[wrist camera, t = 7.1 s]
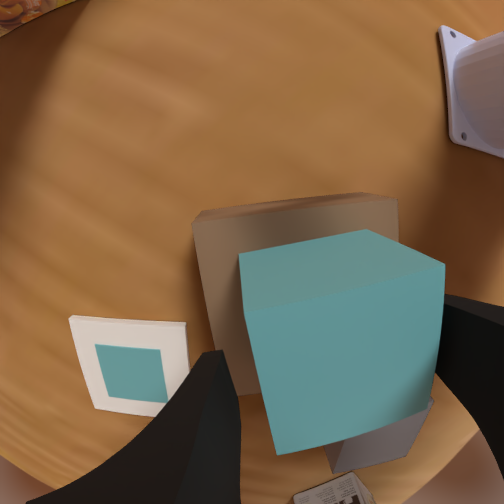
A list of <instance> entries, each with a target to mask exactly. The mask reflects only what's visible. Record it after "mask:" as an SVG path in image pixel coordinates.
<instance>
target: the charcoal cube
mask: <svg viewBox="0 0 504 504" xmlns="http://www.w3.org/2000/svg"><path fill="white" fill-rule="evenodd" d="M433 402H434V400H433V399H432V397H431V396H430V398H429V403H428V407H427V409H426V410H423V411H421V412H419V413H417V414H414V415H412V416H409V417H407V418H405V419H402V420H400V421H397V422H394V423H392V424H389V425H386V426H384V427H381V428H378V429H375V430H372V431H370V432H367V433H363V434H360V435H357V436H354V437H351V438H347V439H344V440H341V441H337V442H334V443H330V444H326V445H323V446H324V449H325V452H326V455H327V458H328V461H329V465H330V468H331V471H332V474H335V473H340V472H345V471H350V470H355V469H360V468H364V467H368V466H373V465H377V464H381V463H384V462H388V461H392V460H395V459H398V458H402V457H405V456H406V455H407V453H408V452H409V450H410V448H411V446H412V444H413V443H414V441H415V439H416V437H417V435H418V433H419V431H420V429H421V427H422V425H423V423H424V421H425V419H426V417H427V415H428V413H429V411H430V409H431V406H432V404H433Z"/></svg>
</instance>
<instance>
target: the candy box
mask: <svg viewBox="0 0 504 504" xmlns="http://www.w3.org/2000/svg"><path fill="white" fill-rule="evenodd" d="M73 1H76V0H0V37H1V36H3V35H5V34H7V33H8V32H10V31H12V30H13V29H15V28H17V27H18V26H20V25H22V24H24V23H26V22H28V21H31V20H32V19H34V18H37V17H39V16H41V15H42V14H45V13H47V12H49V11H51V10H53V9H56V8H58V7H61V6H63V5H65V4H68V3H70V2H73Z"/></svg>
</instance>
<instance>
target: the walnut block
mask: <svg viewBox="0 0 504 504" xmlns="http://www.w3.org/2000/svg"><path fill="white" fill-rule="evenodd" d="M192 229H193V235H194V241H195V247H196V253H197V259H198V264H199V270H200V275H201V281H202V286H203V291H204V297H205V302H206V307H207V312H208V317H209V322H210V326H211V331H212V336H213V341H214V345H215V350H222V349H223V352H224V355H225V358H226V362H227V365H228V368H229V371H230V375H231V378H232V381H233V384H234V387H235V390H236V393H237V396H243V395H251V394H259V393H262V391H261V387H260V382H259V378H258V374H257V369H256V365H255V360H254V356H253V352H252V347H251V343H250V338H249V334H248V329H247V325H246V320H245V316H244V309H243V298H242V287H241V275H240V264H239V254H241V253H246V252H251V251H256V250H262V249H267V248H272V247H277V246H282V245H287V244H292V243H297V242H303V241H308V240H313V239H318V238H323V237H328V236H333V235H338V234H344V233H349V232H354V231H359V230H364V229H368V230H370V231H372V232H375V233H377V234H379V235H382V236H384V237H386V238H389V239H391V240H393V241H396V242H398V243H399V224H398V199H395V198H390V197H385V196H379V195H374V194H369V193H363V192H358V193H347V194H337V195H326V196H317V197H307V198H298V199H289V200H280V201H272V202H264V203H256V204H248V205H241V206H233V207H226V208H219V209H212V210H205V211H201V213H200V214H199V215H198V216H197V217H196V219H195V220H194V221H193V222H192Z"/></svg>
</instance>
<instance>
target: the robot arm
mask: <svg viewBox="0 0 504 504" xmlns="http://www.w3.org/2000/svg"><path fill="white" fill-rule="evenodd" d="M438 32H439V37H440V43H441V49H442V55H443V62H444V69H445V78H446V88H447V100H448V116H449V136H450V139H451V140H452V142H454V143H456V144H459V145H463V146H466V147H470V148H473V149H476V150H480V151H483V152H486V153H489V154H492V155H495V156H498V157H501V158H504V31H502V32H500V33H497V34H494V35H492V36H489V37H486V38H484V39H481V40H479V41H475V40H473V39H471V38H469V37H467V36H465V35H463V34H461V33H459V32H457V31H455V30H453V29H451V28H449V27H447V26H444V25H443V26H440V27H439V28H438ZM451 35H452V36H451ZM461 134H462V135H463V139H462V137H461ZM435 373H436V374H437V375H438V376H439V377H440V379H441V380H442V381H443V382H444V383H445V385H446V386H447V387H448V388H449V389H450V390H451V391H452V393H453V394H454V395H455V396H456V397H457V399H458V400H459V401H460V402H461V403H462V404H463V406H464V407H465V408H466V409H467V410H468V412H469V413H470V415H471V416H472V417H473V419H474V420H475V422H476V423H477V425H478V427H479V428H480V430H481V432H482V434H483V435H484V437H485V439H486V441H487V443H488V445H489V446H490V449H491V451H492V453H493V455H494V457H495V459H496V461H497V464H498V466H499V469H500V471H501V474H502V476H503V479H504V307H502V306H497V305H492V304H488V303H484V302H480V301H475V300H471V299H467V298H463V297H458V296H453V295H448V294H444V304H443V315H442V325H441V334H440V342H439V349H438V356H437V362H436V368H435ZM240 455H241V420H240V410H239V402H238V397H237V393H236V390H235V387H234V384H233V381H232V378H231V375H230V371H229V368H228V365H227V362H226V358H225V355H224V352H223V349H222V350H216V351H210V352H204V353H202V355H201V356H200V358H199V359H198V360H197V362H196V363H195V365H194V366H193V368H192V369H191V371H190V372H189V374H188V375H187V377H186V378H185V379H184V381H183V382H182V384H181V385H180V386H179V388H178V389H177V391H176V392H175V393H174V395H173V396H172V397H171V399H170V400H169V401H168V402H167V403H166V405H165V406H164V407H163V408H162V410H161V411H160V412H159V413H158V414H157V416H156V417H155V418H154V419H153V420H152V421H151V422H150V423H149V424H148V425H147V426H146V427H145V428H144V429H143V430H142V431H141V432H140V433H139V434H138V435H137V436H136V437H135V438H134V439H133V440H132V441H131V442H129V443H128V444H127V445H126V446H125V447H123V448H122V449H121V450H120V451H118V452H117V453H116V454H114V455H113V456H112V457H110V458H109V459H108V460H107V461H105V462H104V463H103V464H101V465H100V466H98V467H97V468H95V469H94V470H92V471H90V472H89V473H87V474H86V475H84V476H82V477H81V478H79V479H77V480H75V481H73V482H72V483H70V484H68V485H66V486H64V487H62V488H60V489H57V490H55V491H53V492H51V493H48V494H46V495H43V496H41V497H38V498H36V499H33V500H30V501H27V502H26V504H241V500H240Z"/></svg>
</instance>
